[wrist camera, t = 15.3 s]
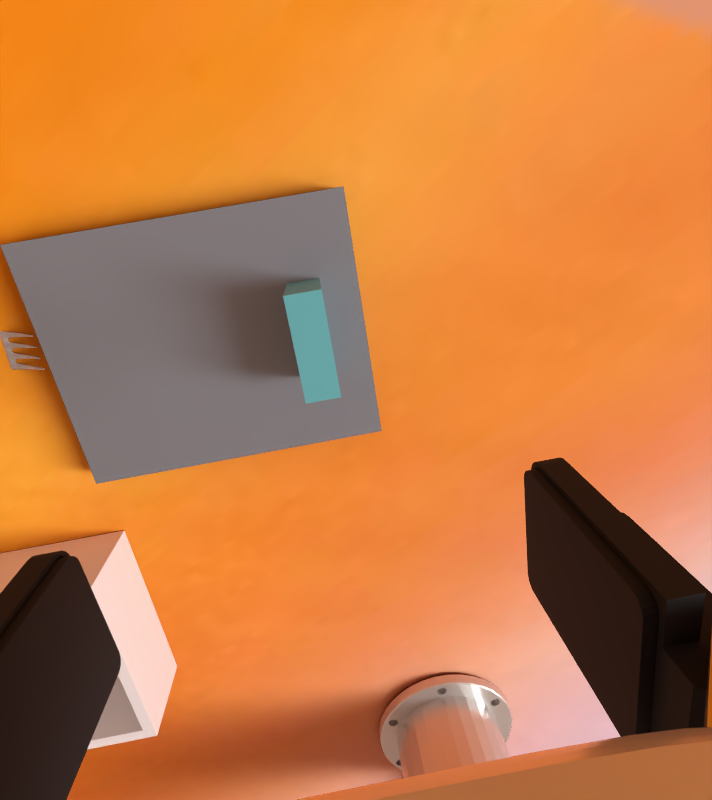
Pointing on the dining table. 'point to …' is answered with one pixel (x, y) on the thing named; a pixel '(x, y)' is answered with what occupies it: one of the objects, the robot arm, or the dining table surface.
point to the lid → (203, 332)
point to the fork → (14, 356)
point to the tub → (119, 633)
